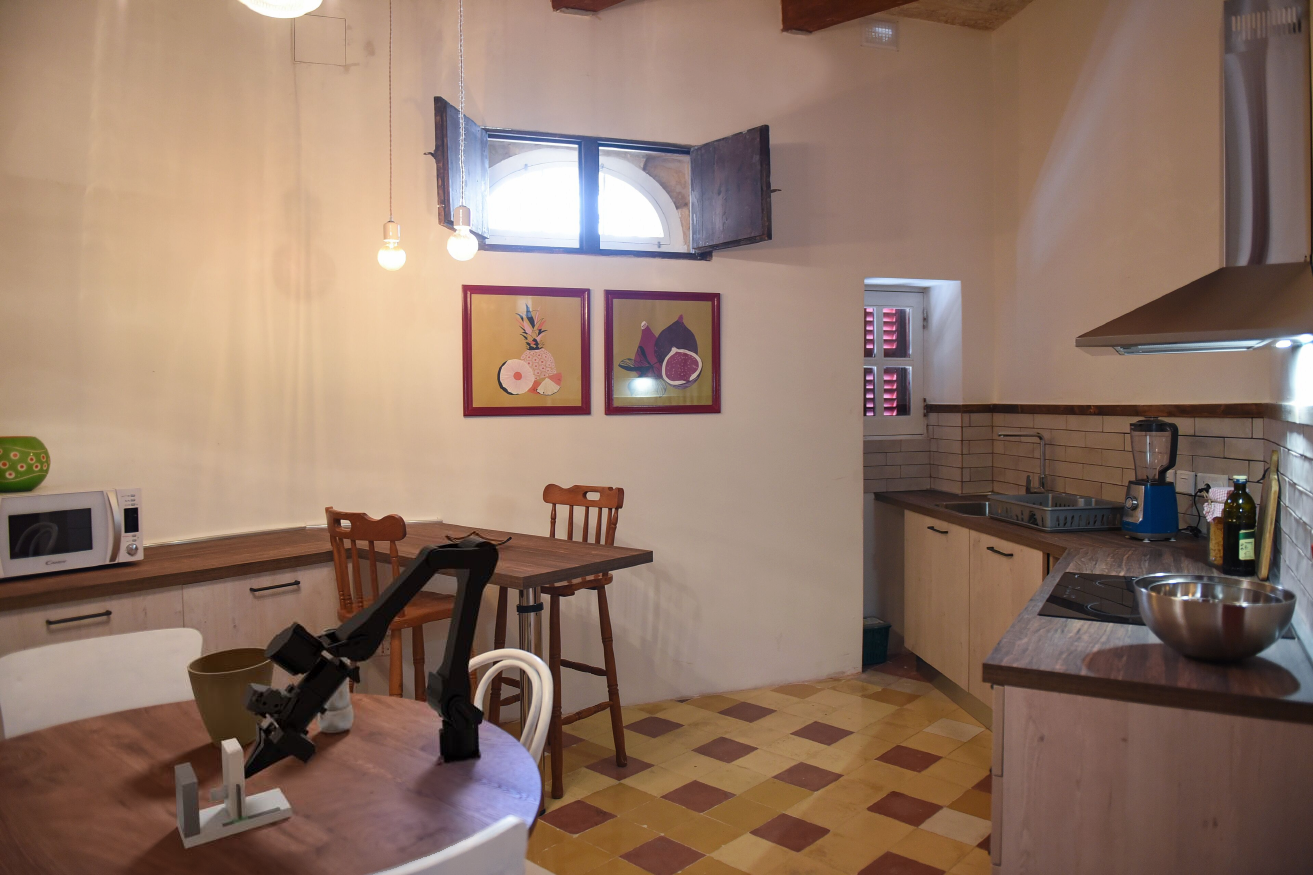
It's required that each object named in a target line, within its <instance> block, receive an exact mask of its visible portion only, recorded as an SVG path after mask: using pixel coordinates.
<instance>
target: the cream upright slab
mask: <svg viewBox="0 0 1313 875" xmlns="http://www.w3.org/2000/svg"><path fill="white" fill-rule="evenodd" d="M221 744H222V748H221V763H222V782H223V784H222V785H221V786H220V785H219V786H217V787H214V788H210V789H209V798H210V803H211V804H212V803H213V804H214V803H217V802H220V801H223V804H225V806H226V808H227V810H228V813H229V815H230V817H231V819H233V818H237V817H238V819H239V820H241V819H242V816H244V815H246V800H245V797H246V783H245V780H246V779H245V778H244V765H245V760H244V757H245V756H244V750H243V748H242V746H240V744H239V743H238V741H237V740H236V738H233V739H229V740H225V741H221Z"/></svg>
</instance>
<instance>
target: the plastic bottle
mask: <svg viewBox="0 0 1313 875" xmlns="http://www.w3.org/2000/svg"><path fill="white" fill-rule="evenodd" d="M337 628H338V627H330V628H325V629H323V630H322V632H321V635H322V634H325V633H328V632H331V631H334V630H337ZM322 654H323V655H324V656H326V657H327V658H329V659H330V658H332V657H333V656H332V655H330V654H329V653H327V652H326V651H323V652H322ZM341 659H342V660H343V661H345V662H346V663H347V664H349V665H351V664H350V663H351V661H350V660H349V659H347V658H341ZM351 701H352V700H351V695H350V678H347V679H346V681H345V682H344V683H343V684H342V685H341V687H340V688H339V689H338V690H337V692H336V693H335V694H334V695H333V697H332V698H331V699H330V700H329V701H328V703H327V704H326V705H325V708H326V709H327V711H326V712H325V713H324V715H322V714H321V713H319V714H318V715H317V725H318V728H319V729H320V731H321V732H323V733H325V734H337V733H342V732H344V731H347V730H349V729H350V728H351V726H352V725H353V722H354V715H355V714H354V709H353V706H352V703H351Z"/></svg>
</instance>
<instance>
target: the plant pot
mask: <svg viewBox="0 0 1313 875" xmlns="http://www.w3.org/2000/svg"><path fill="white" fill-rule="evenodd" d="M266 648H267V647H258V646H252V647H251V646H244V647H235V648H229V649H222V650H219V651H214V652H211V653H207V654H205V655H201V656H199V657H197V658H195V659H194V660H192V661H191V662H189V663H188V665H186V668H187V674H188V677H189V678H188V679H189V683H190V686H191V690H192V693H193V697H194V701H195V704H196V706H197V709H198V712H199V714H200V718H201V720H202V722H203V724H204V727H205V729H206V731H207V733H208V735H209V737H210V740H211V741H212V743H213V744H214V746H215V747H217V748H219V749H222V744H221V741H225V740H229V739H233V738H236V740H237V741H238V743H239V744H240V746H241V747H243V746H246V745H249V744H251V743H252V742H254V741H256V740H257V729H256V722H257V723H259V724H261V723H262V722H263V721H264V718H263V717H261V716H260V715H257V716H256V715H254V714H253V713H252V711H249V710H247V709H246V708H245V705H244V704H242V701H243V699H244V697H245V694H246V692H247V690H248V687H249V685H250V683H254V684H259V685H264V686H269V687H272V681H273V678H274V677H273V674H274V668H275V663H273V662H272V661H271V660H269V659H268V658H266V657H265V656H264V653H265V650H266Z"/></svg>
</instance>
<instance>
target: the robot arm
mask: <svg viewBox="0 0 1313 875" xmlns="http://www.w3.org/2000/svg"><path fill="white" fill-rule="evenodd" d="M499 560H500V552H499V549H498V547H497V546H496V545H495V543H493V542H491V541H488V540H485V539H481V538H478V537H475V536H468V537H465V538H463V539H462V540H461V541H458V542H447V543H441V544H438V545H437V544H436V545H432V544H431V545H430V544H429V545H426V546H423V547H422V548H421V549H420V550H419V551H418V553H417V555H416V556H415V557H414V558H413V559H412V560H411V561H410V563H408V565H407V566H405V568H404V569H403V570H402V571H400V573H399V574H398V575H397V576H396V578H394V579H393V581H391V582H390V584H389V585H388V586H386V587H385V589H384V590H383V591H382V592H381V593H380V595H378V597H377V598H376V599H375V600H374V601H373V602H372V603H370V604H369V605H368V606H367V607H364V608H363V609H361V610H359V611H357V612H355V613H354V614H353V615H351V617H349V618H348V619H346V620H345V621H344V622H342V623H341V624H340V625H339V626H338V627H336V628H337V630H334V631H331V632H328V633H325V634H322V633H321V634H319V635H317V636H315V635H313V634H312V633H311V632H310V631H308V630H307V629H306V628H305V627H304V626H303V625H302V624H301V623H299V621H293V623H291V625H289V626H288V627H285V628H284V629H283V630H282V631H281V632H279V633H278V634H276V635H274V637H273V638H272V639H271V640H270V642H269V643H268V644H267V645H266V647H265V648H266V650H265V653H264V656H265V657H266V658H268V659H269V660H271V661H272V662H273V663H274V665H276V666H278V667H279V668H281V669H282V670H283V671H285V672H286V673H288V674H289V675H291V676H293V677H295V676H296V677H297V676H298V675H301V676H302V678H300V680H299V681H297V684H295V683H294V682H292V683H289V684H288V685H287V686H286V687H285V689H280V688H277V687H272V686H271V687H269V686H264V685H259V684H254V683H250V685H249V687H248V690H247V692H246V694H245V697H244V699H243V701H242V704H244V705H245V708H246V709H247V710H249V711H252V713H253V714H254V715H256V716H257V715H260V716H261V717H263V722H262V723H261V724H259V723H257V722H256V729H257V738H256V739H255V743H254V745H253V748H252V749H251V751H250V753H249V755H248V757H247V759H246V761H245V762H244V778H245V780H248V779H250V778H252V777H253V776H255V775H257V774H258V773H260V772H262V771H265V770H266V769H267V768H269V767H271V766H273V765H275V764H277V763H279V762H281V761H283V760H285V759H287V758H288V757H293V758H296V759H297V760H299V761H300V762H302V763H303V764H305V765H308V764H309V762H310V761H311V760H312V758H314V757H315V755H316V753H317V752H316V751H317V750H316V744H315V743H314V741H312V739H310V738H309V737H308V735H309V733H310V730H309V729H308V728H309V726H310V725H311V724H312V722H313V721H314V720H315V718H316V717H318V714H319V713H321V714H322V715H324V713H325V712H326V711H327V709H326V708H325V705H326V704H327V703H328V701H329V700H330V699H331V698H332V697H333V695H334V694H335V693H336V692H337V690H338V689H339V688H340V687H341V685H342V684H343V683H344V682H345V681H346V679H347V678H349V680H351V681H352V682H354V683H356V684H360V683H361V680H362V679H361V676H360V669H361V666H360V665H358V664H357V663H361V662H362V663H363V662H367V661H369V660H370V659H371V658H372V657H373V656H374V655H375V654H376V652H377V651H378V649H379V647H380V646H381V645H382V643H383V641H384V640H385V639H386V637H387V634H388V631H389V629H390V626H391V624H392V623H393V622H394V620H395V619H396V618H397V617H398V616H399V614H400V613H401V612H403V610H404V609H405V608H406V607H407V606H408V604H410V602H411V601H412V600H413V599H414V598H415V597H416V596H417V595H418V594H419V593H420V591H421V590H423V588H425V586H426V585H427V584H428V582H430V580H432V578H433V577H434V576H435V575H436V574H437V573H438V572H439V571H440V570H454V573H455V578H456V583H457V585H456V587H457V588H456V593H455V597H454V604H453V607H452V613H451V617H450V623H449V628H448V632H447V633H448V634H447V638H446V643H445V648H444V649H445V650H444V654H443V659H442V662H441V665H440V666H439V668H438V669H437V671H430V670H429V672H428V675H427V685H426V688H425V690H424V691H423V693H424V695H426V703H427V704H428V705H429V707H430V708H431V709H432V710H433V711H435V712H436V713H437V715H438V717H439V718H442V719H441V728H439V729H438V748H439V749H438V750H439V756H441V757H442V758H443V763H444V764H447V763H454V762H461V761H466V760H472V759H478V758H481V757H482V752H481V750H480V739H479V738H480V735H479V732H480V731H479V728H480V727H479V725H480V726H481V725H482V723H483V720H484V717H485V712H484V711H483V710H481V708H479V707H478V706H476V705H475V704H473V703H472V686H473V685H472V681H471V676H470V672H469V671H470V670H469V666H470V662H471V661H470V659H471V656H472V651H473V646H474V641H475V636H476V630H477V624H478V620H479V615H480V610H481V604H482V599H483V594H484V590H485V589H486V587H487V585H488V584H489V582H491V579H492V578H493V576H494V574H495V571H496V568H497V566H498V563H499ZM323 651H326V652H327V653H329V654H330V655H332V656H333V657H332V658H330V659H329V658H327V657H326V656H324V655H323V654H322V652H323ZM341 658H347V659H349V660H350V662H352V664H350V665H349V664H347V663H346V662H345V661H343V660H342V659H341ZM353 662H354V663H353Z"/></svg>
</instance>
